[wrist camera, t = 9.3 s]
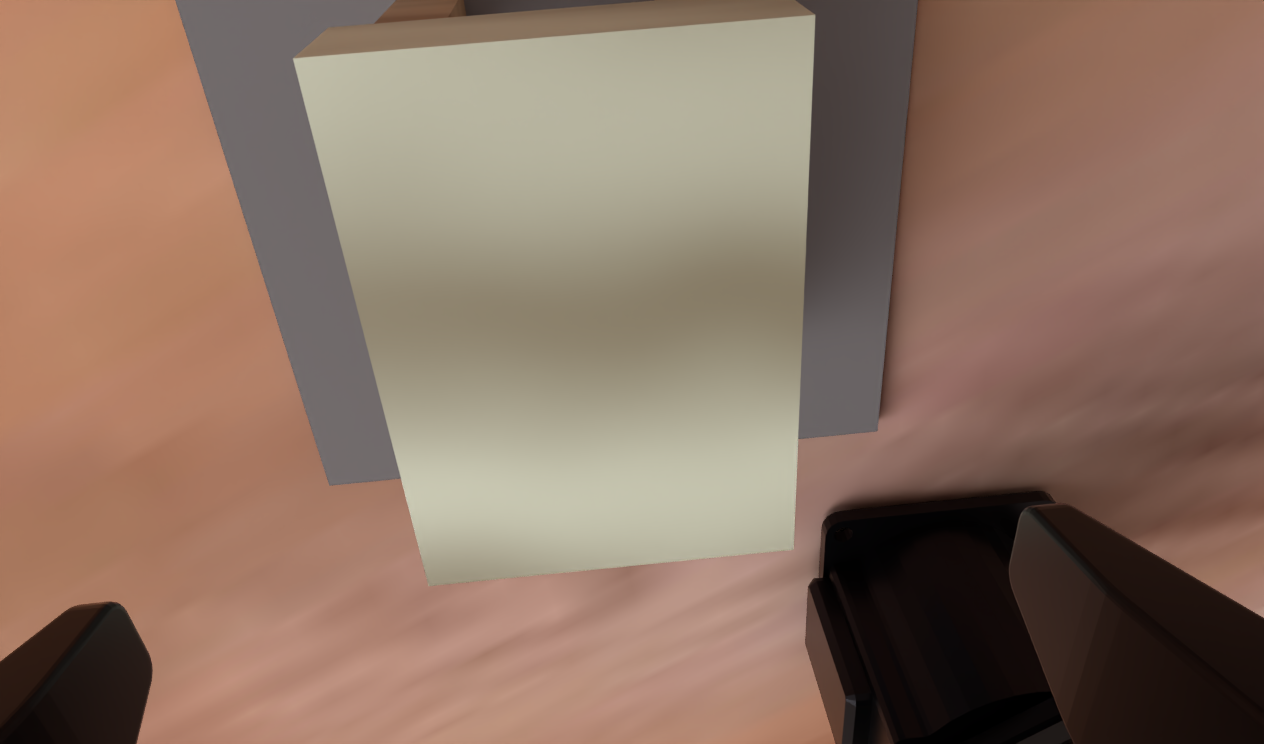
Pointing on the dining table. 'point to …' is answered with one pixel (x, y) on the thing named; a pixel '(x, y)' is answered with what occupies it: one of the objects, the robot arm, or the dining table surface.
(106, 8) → the dining table surface
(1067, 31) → the dining table surface
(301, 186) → the felt pad
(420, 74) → the stool
